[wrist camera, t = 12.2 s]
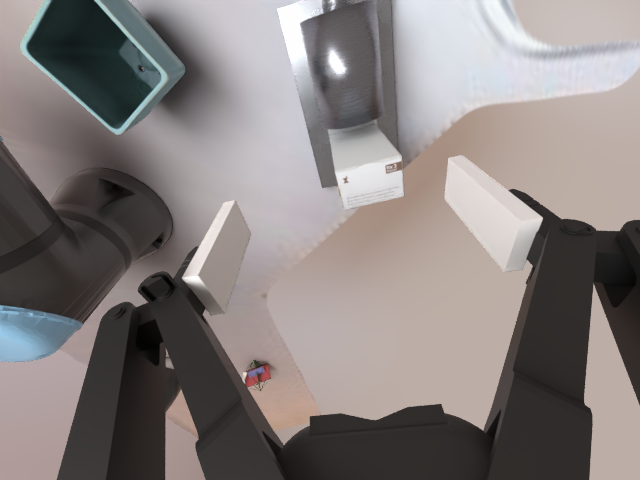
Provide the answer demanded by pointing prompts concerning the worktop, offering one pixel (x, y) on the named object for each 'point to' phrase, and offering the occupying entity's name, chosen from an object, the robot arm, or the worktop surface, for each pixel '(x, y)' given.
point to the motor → (341, 70)
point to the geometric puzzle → (256, 375)
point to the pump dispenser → (171, 384)
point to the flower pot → (103, 58)
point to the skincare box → (366, 167)
